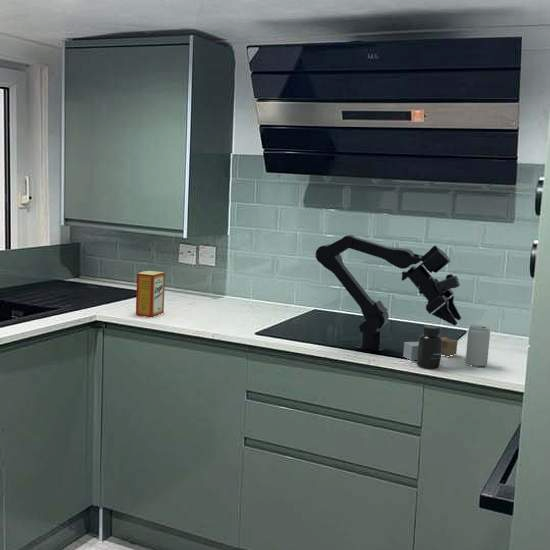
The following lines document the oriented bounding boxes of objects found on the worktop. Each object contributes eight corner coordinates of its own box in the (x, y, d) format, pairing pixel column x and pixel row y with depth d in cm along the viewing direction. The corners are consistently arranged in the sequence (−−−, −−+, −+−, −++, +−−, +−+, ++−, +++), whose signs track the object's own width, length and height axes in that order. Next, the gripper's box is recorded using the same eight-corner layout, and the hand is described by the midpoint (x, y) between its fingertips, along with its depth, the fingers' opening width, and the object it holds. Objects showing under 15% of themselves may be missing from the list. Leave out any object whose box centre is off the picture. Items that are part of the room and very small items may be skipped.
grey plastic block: (403, 357, 224) (404, 342, 223) (417, 357, 225) (418, 341, 224) (410, 362, 219) (411, 346, 218) (425, 361, 220) (426, 345, 220)
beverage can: (486, 368, 215) (490, 329, 214) (464, 366, 217) (468, 327, 216) (487, 364, 221) (491, 325, 220) (465, 361, 223) (469, 323, 222)
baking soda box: (148, 311, 273) (149, 269, 271) (163, 313, 271) (165, 271, 269) (135, 315, 265) (136, 272, 262) (151, 317, 263) (153, 274, 260)
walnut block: (433, 354, 230) (435, 339, 230) (443, 352, 234) (444, 337, 233) (447, 357, 227) (448, 342, 226) (456, 355, 230) (457, 340, 229)
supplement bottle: (437, 370, 210) (441, 330, 208) (414, 367, 213) (417, 327, 211) (441, 365, 217) (445, 326, 215) (418, 362, 219) (422, 323, 217)
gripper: (440, 269, 211) (475, 310, 208) (449, 263, 228) (482, 301, 226) (411, 292, 215) (445, 333, 212) (422, 285, 232) (454, 322, 230)
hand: (458, 321), depth 220 cm, fingers open, 9 cm apart
